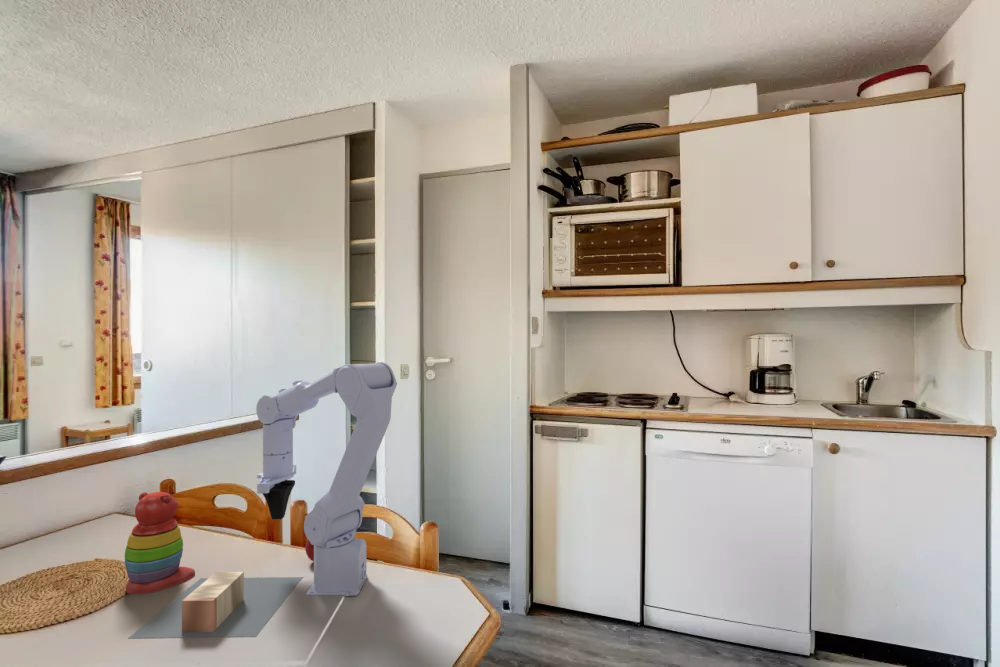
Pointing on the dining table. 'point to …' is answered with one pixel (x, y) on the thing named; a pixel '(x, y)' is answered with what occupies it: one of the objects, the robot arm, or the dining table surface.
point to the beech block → (212, 602)
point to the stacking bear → (155, 546)
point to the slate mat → (242, 622)
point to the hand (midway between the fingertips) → (278, 518)
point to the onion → (309, 550)
